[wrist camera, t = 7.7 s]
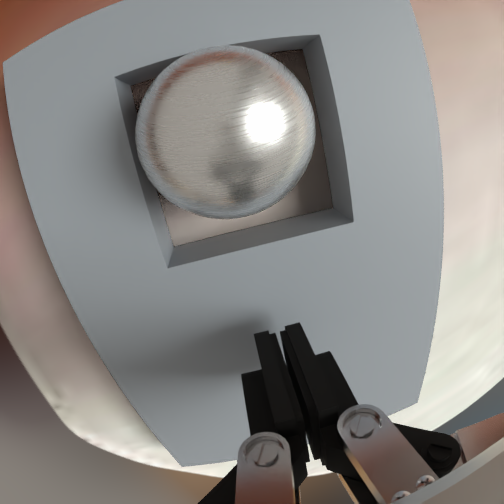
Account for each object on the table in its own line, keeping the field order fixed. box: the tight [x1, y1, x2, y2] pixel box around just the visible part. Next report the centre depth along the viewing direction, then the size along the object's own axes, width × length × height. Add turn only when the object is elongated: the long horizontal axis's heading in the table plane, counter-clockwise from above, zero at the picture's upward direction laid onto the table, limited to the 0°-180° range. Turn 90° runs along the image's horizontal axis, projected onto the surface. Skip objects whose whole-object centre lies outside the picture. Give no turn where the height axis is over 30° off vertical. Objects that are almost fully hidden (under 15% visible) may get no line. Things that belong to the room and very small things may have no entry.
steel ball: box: [135, 45, 316, 219], centre depth 8 cm, size 5×5×5 cm
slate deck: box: [3, 0, 444, 467], centre depth 12 cm, size 22×15×2 cm
